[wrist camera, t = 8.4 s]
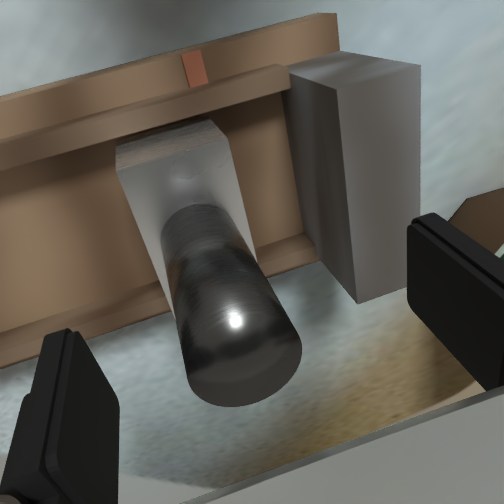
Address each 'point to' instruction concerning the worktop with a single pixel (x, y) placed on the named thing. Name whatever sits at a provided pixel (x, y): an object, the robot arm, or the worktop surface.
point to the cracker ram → (208, 262)
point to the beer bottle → (483, 220)
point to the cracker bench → (245, 162)
